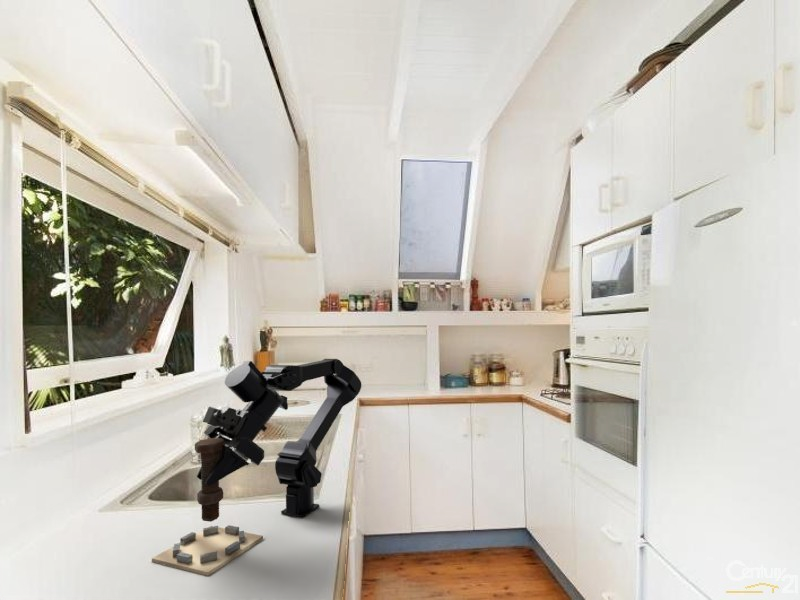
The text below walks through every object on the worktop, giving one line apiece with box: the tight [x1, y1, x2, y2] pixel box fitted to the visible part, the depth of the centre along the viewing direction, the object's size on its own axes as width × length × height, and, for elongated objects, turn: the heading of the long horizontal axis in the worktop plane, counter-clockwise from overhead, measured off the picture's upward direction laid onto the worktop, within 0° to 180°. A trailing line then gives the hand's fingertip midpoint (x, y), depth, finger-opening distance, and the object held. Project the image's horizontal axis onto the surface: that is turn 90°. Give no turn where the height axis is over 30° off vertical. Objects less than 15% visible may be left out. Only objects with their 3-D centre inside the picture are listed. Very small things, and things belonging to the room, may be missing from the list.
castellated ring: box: [172, 524, 245, 564], centre depth 84 cm, size 13×13×1 cm
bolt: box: [194, 438, 225, 523], centre depth 85 cm, size 6×5×15 cm
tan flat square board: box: [151, 525, 264, 577], centre depth 84 cm, size 14×14×1 cm
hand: (202, 481), depth 84 cm, fingers closed on bolt, 5 cm apart
